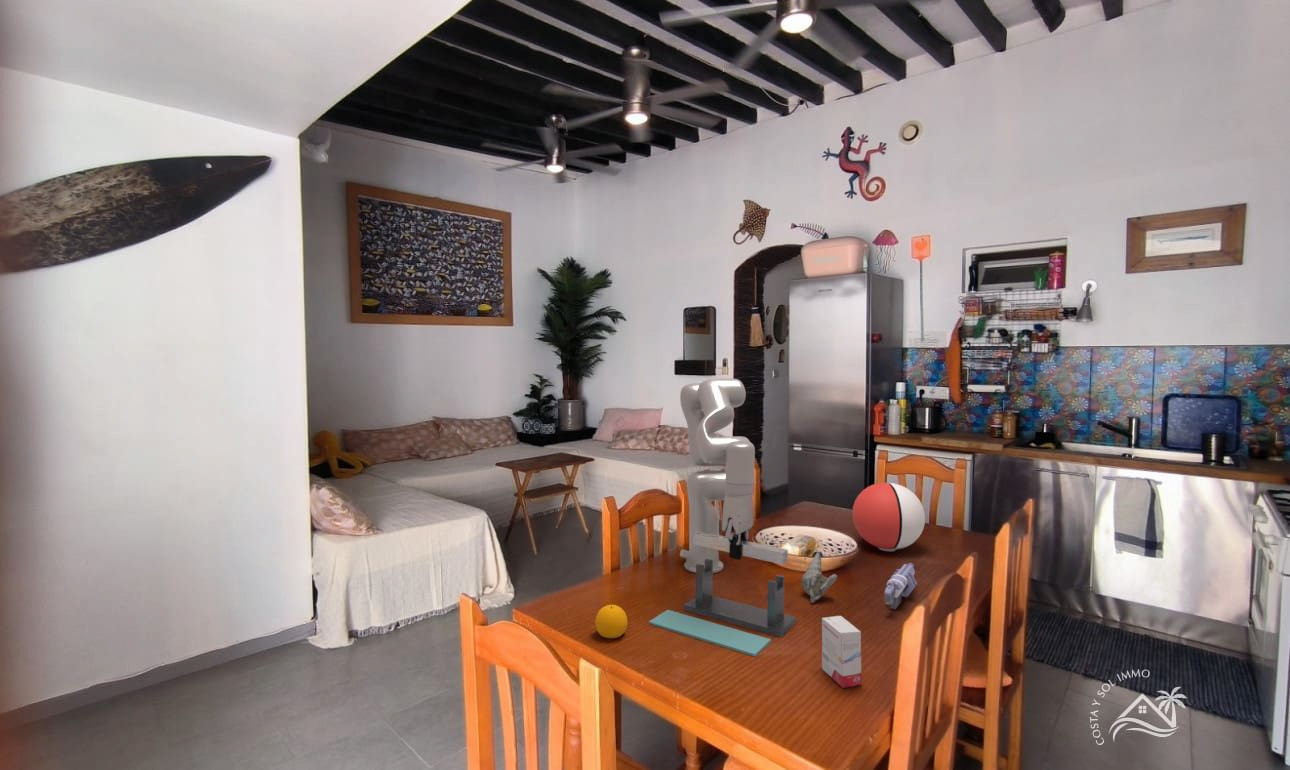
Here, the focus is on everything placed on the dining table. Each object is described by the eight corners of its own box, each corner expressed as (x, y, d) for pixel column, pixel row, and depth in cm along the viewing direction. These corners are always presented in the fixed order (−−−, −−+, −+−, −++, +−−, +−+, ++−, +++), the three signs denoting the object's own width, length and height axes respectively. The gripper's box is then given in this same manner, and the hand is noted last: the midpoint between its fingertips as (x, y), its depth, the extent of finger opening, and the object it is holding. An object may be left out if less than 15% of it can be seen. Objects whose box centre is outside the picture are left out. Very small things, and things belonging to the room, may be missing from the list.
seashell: (793, 600, 177) (793, 565, 176) (814, 582, 191) (814, 550, 190) (828, 609, 171) (828, 573, 170) (847, 589, 185) (847, 556, 184)
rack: (683, 610, 170) (684, 565, 170) (702, 598, 178) (702, 555, 178) (780, 637, 154) (781, 587, 153) (796, 622, 162) (796, 575, 162)
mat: (648, 623, 162) (648, 621, 162) (667, 611, 169) (667, 609, 169) (755, 656, 145) (755, 654, 145) (771, 641, 152) (771, 639, 152)
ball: (908, 539, 234) (935, 560, 210) (843, 538, 234) (864, 559, 211) (909, 476, 232) (937, 490, 209) (844, 476, 233) (865, 490, 209)
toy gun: (923, 588, 186) (924, 561, 186) (901, 621, 163) (902, 591, 163) (897, 582, 190) (898, 557, 190) (872, 615, 167) (873, 585, 167)
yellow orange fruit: (622, 626, 161) (622, 597, 160) (631, 639, 153) (631, 609, 153) (592, 630, 158) (591, 601, 158) (599, 644, 151) (599, 614, 150)
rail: (693, 544, 172) (693, 533, 172) (699, 541, 174) (699, 530, 174) (782, 564, 157) (782, 553, 157) (787, 561, 160) (787, 549, 159)
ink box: (862, 686, 132) (863, 631, 131) (840, 689, 131) (841, 634, 130) (840, 665, 141) (841, 614, 140) (820, 668, 139) (820, 616, 139)
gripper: (740, 480, 173) (739, 545, 175) (711, 492, 160) (711, 562, 161) (765, 484, 169) (764, 550, 170) (738, 497, 156) (737, 569, 157)
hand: (738, 555), depth 166 cm, fingers closed on rail, 3 cm apart
